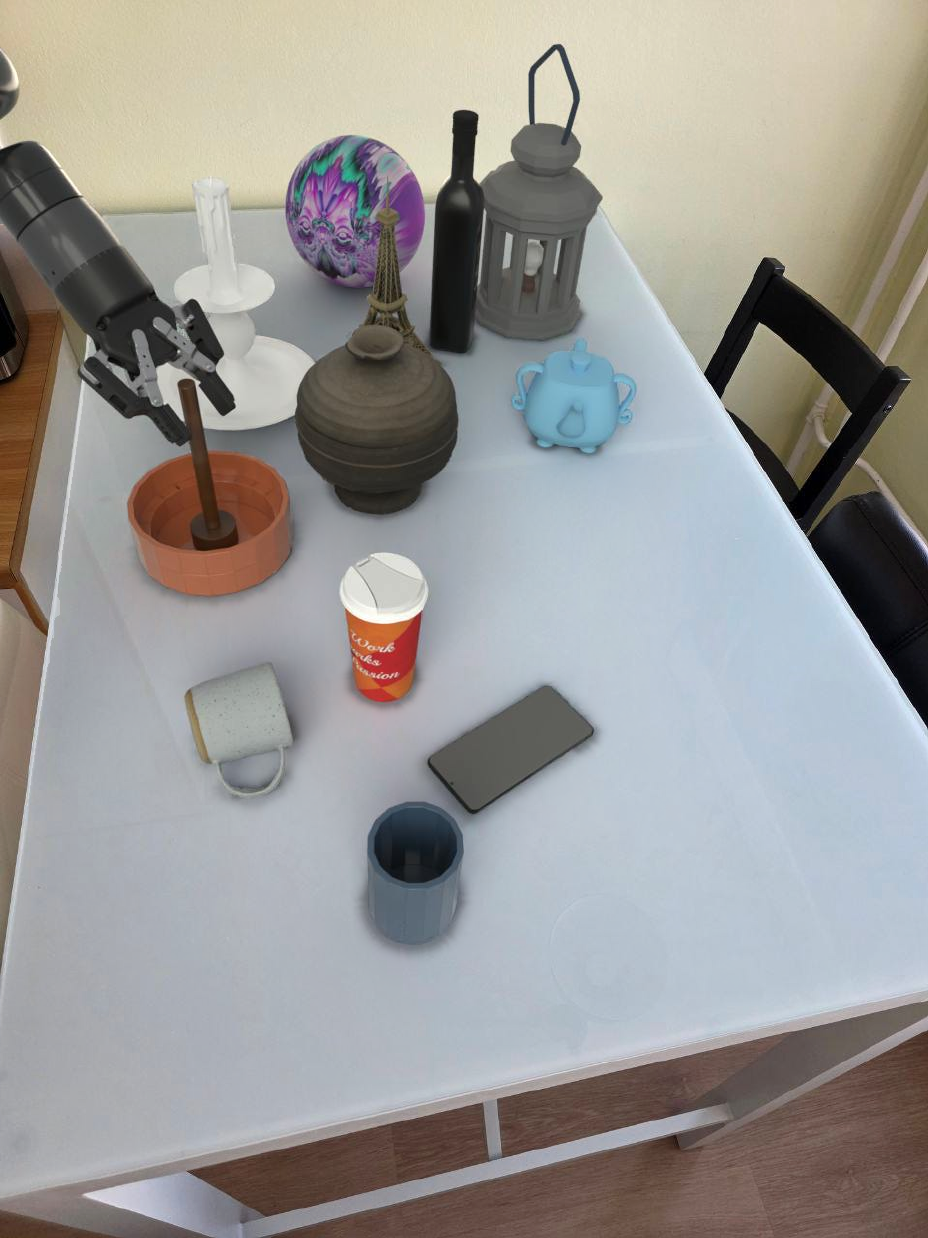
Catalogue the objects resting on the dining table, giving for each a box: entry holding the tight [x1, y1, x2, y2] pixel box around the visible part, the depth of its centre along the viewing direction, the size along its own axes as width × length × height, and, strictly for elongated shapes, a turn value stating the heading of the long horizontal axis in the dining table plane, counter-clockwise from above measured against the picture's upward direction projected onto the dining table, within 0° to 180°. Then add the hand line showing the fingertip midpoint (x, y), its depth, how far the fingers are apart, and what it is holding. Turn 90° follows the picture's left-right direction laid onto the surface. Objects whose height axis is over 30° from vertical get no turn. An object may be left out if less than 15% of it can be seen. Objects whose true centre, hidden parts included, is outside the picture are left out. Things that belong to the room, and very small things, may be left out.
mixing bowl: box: [126, 449, 294, 597], centre depth 97 cm, size 16×16×6 cm
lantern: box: [475, 43, 604, 341], centre depth 123 cm, size 17×17×35 cm
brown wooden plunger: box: [177, 379, 239, 551], centre depth 91 cm, size 5×5×20 cm
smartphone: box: [427, 685, 595, 815], centre depth 84 cm, size 7×1×15 cm
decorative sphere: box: [284, 134, 426, 289], centre depth 131 cm, size 20×20×20 cm
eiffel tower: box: [358, 176, 443, 366], centre depth 115 cm, size 11×11×25 cm
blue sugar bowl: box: [510, 337, 638, 454], centre depth 112 cm, size 13×14×11 cm
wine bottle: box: [428, 109, 485, 354], centre depth 118 cm, size 6×6×30 cm
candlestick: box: [156, 173, 316, 431], centre depth 107 cm, size 21×25×28 cm
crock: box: [366, 801, 465, 946], centre depth 70 cm, size 7×7×10 cm
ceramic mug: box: [184, 661, 294, 799], centre depth 79 cm, size 11×8×8 cm
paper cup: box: [338, 552, 429, 703], centre depth 83 cm, size 8×8×14 cm
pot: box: [294, 325, 459, 516], centre depth 100 cm, size 18×18×20 cm
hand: (208, 426), depth 86 cm, fingers open, 5 cm apart
